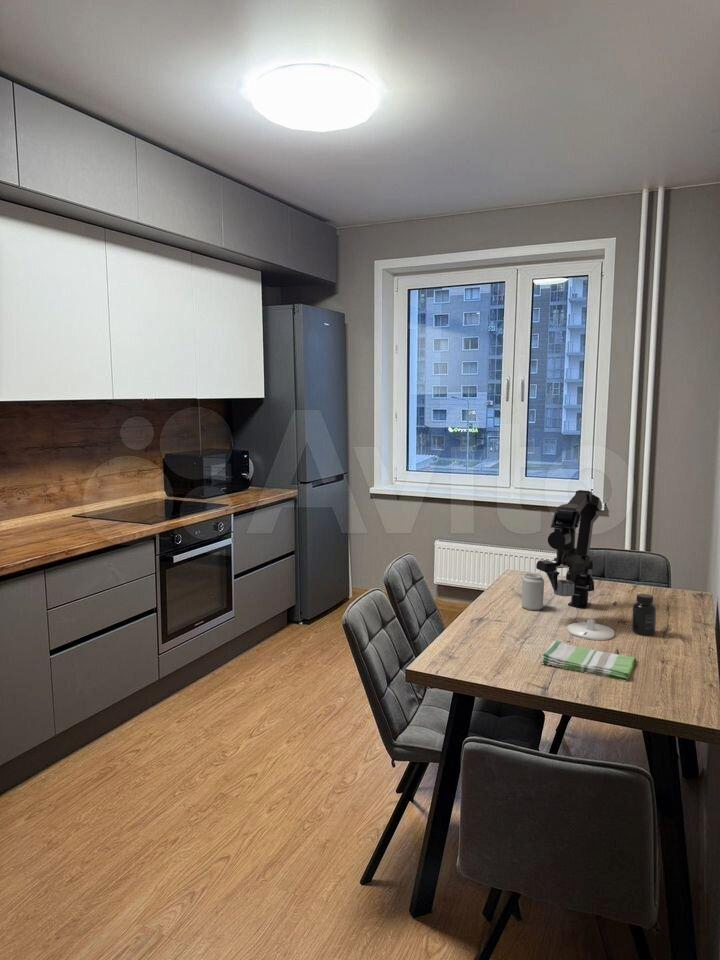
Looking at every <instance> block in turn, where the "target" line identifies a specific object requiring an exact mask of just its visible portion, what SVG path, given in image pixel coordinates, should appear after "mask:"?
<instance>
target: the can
mask: <svg viewBox="0 0 720 960" xmlns="http://www.w3.org/2000/svg"><path fill="white" fill-rule="evenodd" d="M523 576H524V577H522V581H521V582H522V583H521V584H522V585H521V606H522V607H523V608H524V609H526V610H528V611H539V610H541V609H542V608H543V607H544V594H545V593H544V591H545V579H544V578H543V575H542V574H540V573H528V572H527V573H524V575H523Z"/></svg>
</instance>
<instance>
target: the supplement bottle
mask: <svg viewBox="0 0 720 960" xmlns="http://www.w3.org/2000/svg"><path fill="white" fill-rule="evenodd" d="M635 601H636V602H634V603H633V605H632V616H631V617H632V618H631V619H632V621H631V622H632V623H631V631H632V632H633V633H634V634H636V635H639V636H653V635H655V633H656V627H657V626H656V624H657V623H656V622H657V607H656V605H655V604H653V603H654V596H653V595H652V594H648V593H637V594H636V600H635Z"/></svg>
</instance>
